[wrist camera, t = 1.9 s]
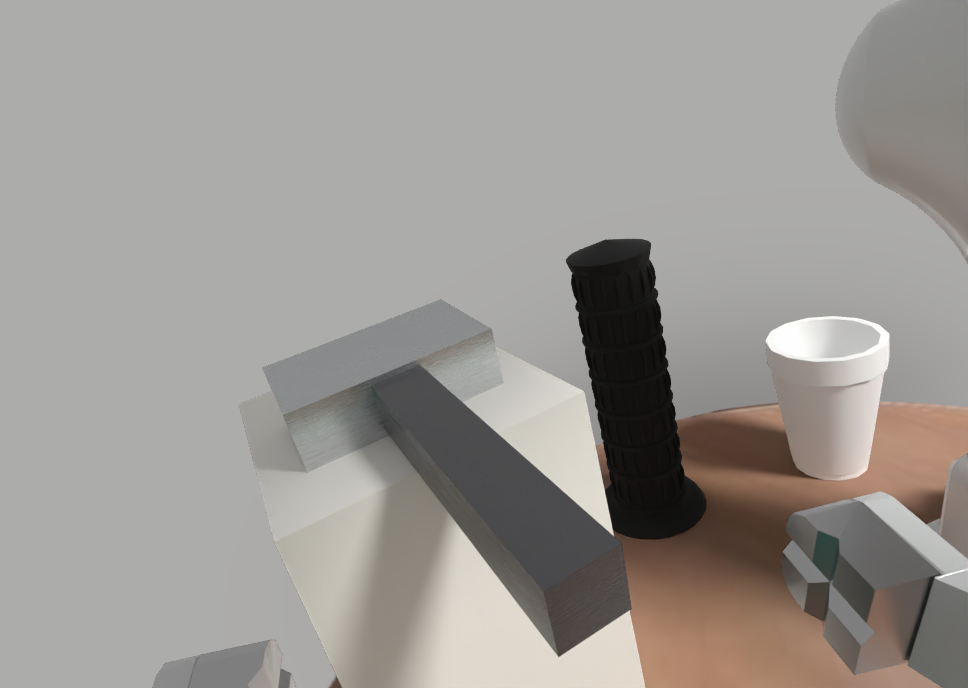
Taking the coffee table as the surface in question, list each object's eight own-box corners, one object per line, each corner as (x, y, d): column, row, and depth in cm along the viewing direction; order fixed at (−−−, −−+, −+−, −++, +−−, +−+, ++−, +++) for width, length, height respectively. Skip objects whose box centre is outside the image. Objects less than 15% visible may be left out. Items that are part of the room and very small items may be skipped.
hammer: (453, 347, 34) (441, 299, 33) (733, 549, 18) (729, 468, 16) (283, 417, 31) (262, 367, 30) (429, 752, 14) (395, 670, 13)
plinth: (528, 607, 50) (446, 321, 40) (662, 769, 36) (584, 391, 27) (372, 703, 45) (238, 404, 36) (456, 933, 31) (274, 542, 22)
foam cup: (849, 425, 61) (846, 308, 57) (914, 476, 53) (916, 343, 48) (757, 447, 62) (747, 332, 57) (807, 500, 53) (799, 371, 48)
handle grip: (728, 514, 54) (670, 460, 63) (695, 230, 45) (632, 216, 54) (628, 553, 52) (583, 493, 62) (572, 268, 43) (529, 248, 52)
